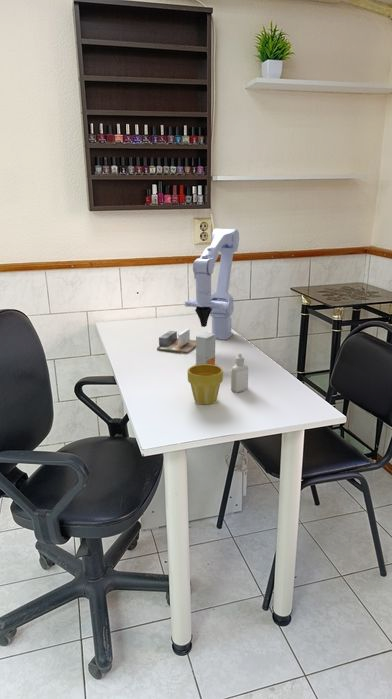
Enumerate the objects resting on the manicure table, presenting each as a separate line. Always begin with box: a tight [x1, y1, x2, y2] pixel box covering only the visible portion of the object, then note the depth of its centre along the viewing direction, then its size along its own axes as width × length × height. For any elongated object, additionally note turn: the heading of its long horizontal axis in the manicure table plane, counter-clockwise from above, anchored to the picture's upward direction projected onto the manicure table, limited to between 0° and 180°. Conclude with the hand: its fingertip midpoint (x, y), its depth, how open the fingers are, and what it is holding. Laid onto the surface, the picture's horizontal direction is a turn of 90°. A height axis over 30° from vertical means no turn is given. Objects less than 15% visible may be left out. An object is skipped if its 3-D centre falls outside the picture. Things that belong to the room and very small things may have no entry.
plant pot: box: [187, 364, 224, 406], centre depth 146 cm, size 10×10×10 cm
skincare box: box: [195, 332, 216, 365], centre depth 171 cm, size 6×4×12 cm
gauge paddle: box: [175, 328, 191, 349], centre depth 192 cm, size 12×1×5 cm, turn 157°
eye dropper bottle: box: [230, 352, 249, 393], centre depth 152 cm, size 4×6×12 cm
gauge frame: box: [156, 330, 196, 355], centre depth 194 cm, size 14×13×4 cm
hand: (204, 326), depth 188 cm, fingers closed
